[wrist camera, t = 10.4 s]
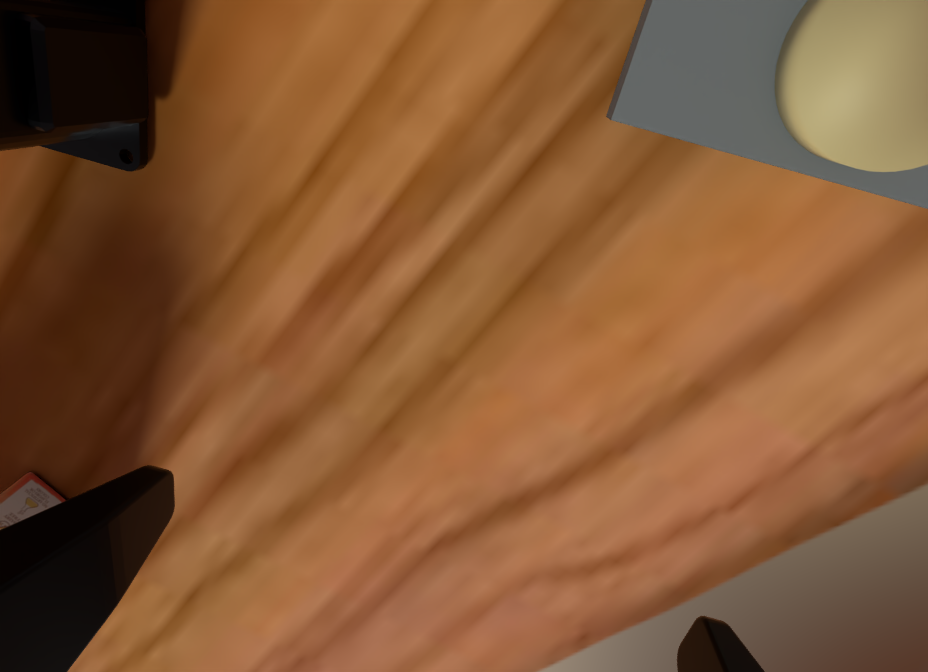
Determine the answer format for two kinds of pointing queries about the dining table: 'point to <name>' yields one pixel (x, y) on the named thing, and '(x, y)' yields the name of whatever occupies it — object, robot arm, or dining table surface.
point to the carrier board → (725, 88)
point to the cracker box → (26, 499)
